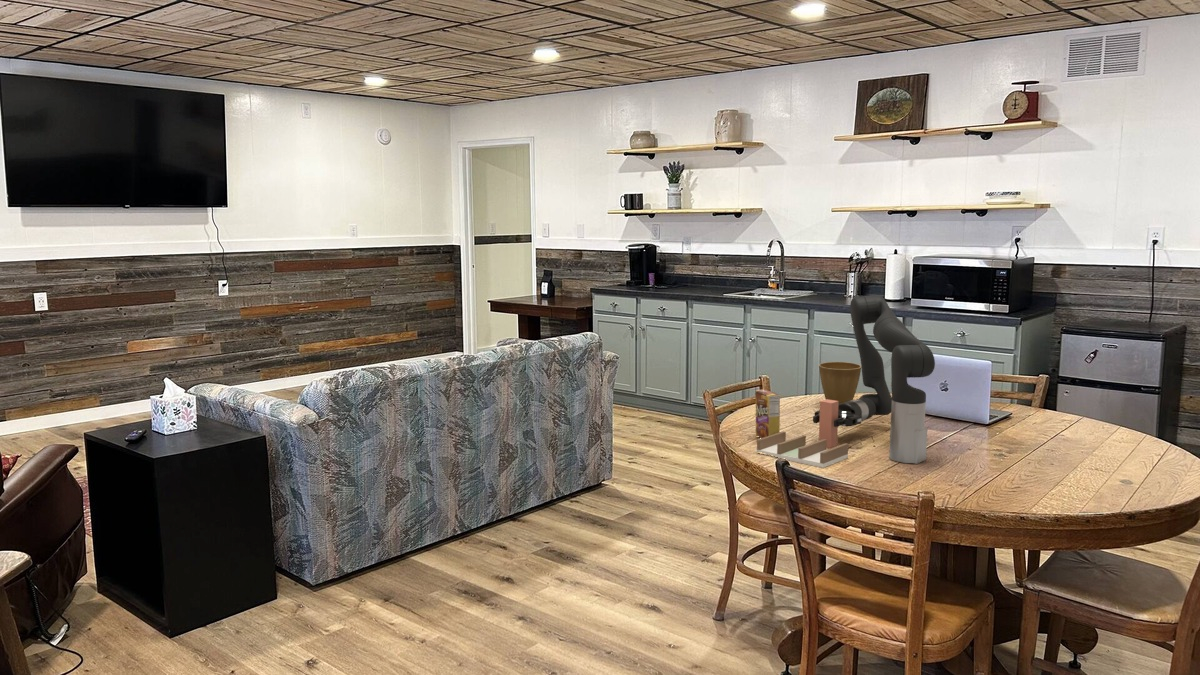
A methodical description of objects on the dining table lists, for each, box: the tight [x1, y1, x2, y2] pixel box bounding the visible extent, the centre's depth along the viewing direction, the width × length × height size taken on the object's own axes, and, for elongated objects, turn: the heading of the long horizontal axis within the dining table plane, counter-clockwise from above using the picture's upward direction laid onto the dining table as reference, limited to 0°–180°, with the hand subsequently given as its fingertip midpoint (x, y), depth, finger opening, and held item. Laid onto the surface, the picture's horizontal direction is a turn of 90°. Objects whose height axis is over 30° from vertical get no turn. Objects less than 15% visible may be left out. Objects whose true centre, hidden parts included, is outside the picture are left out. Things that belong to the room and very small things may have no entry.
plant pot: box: [818, 361, 862, 405], centre depth 319 cm, size 15×15×16 cm
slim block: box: [818, 399, 839, 449], centre depth 267 cm, size 4×4×14 cm
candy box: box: [755, 388, 781, 439], centre depth 275 cm, size 9×4×15 cm, turn 17°
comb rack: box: [756, 430, 849, 469], centre depth 257 cm, size 22×14×4 cm, turn 46°
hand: (824, 421), depth 265 cm, fingers open, 6 cm apart
